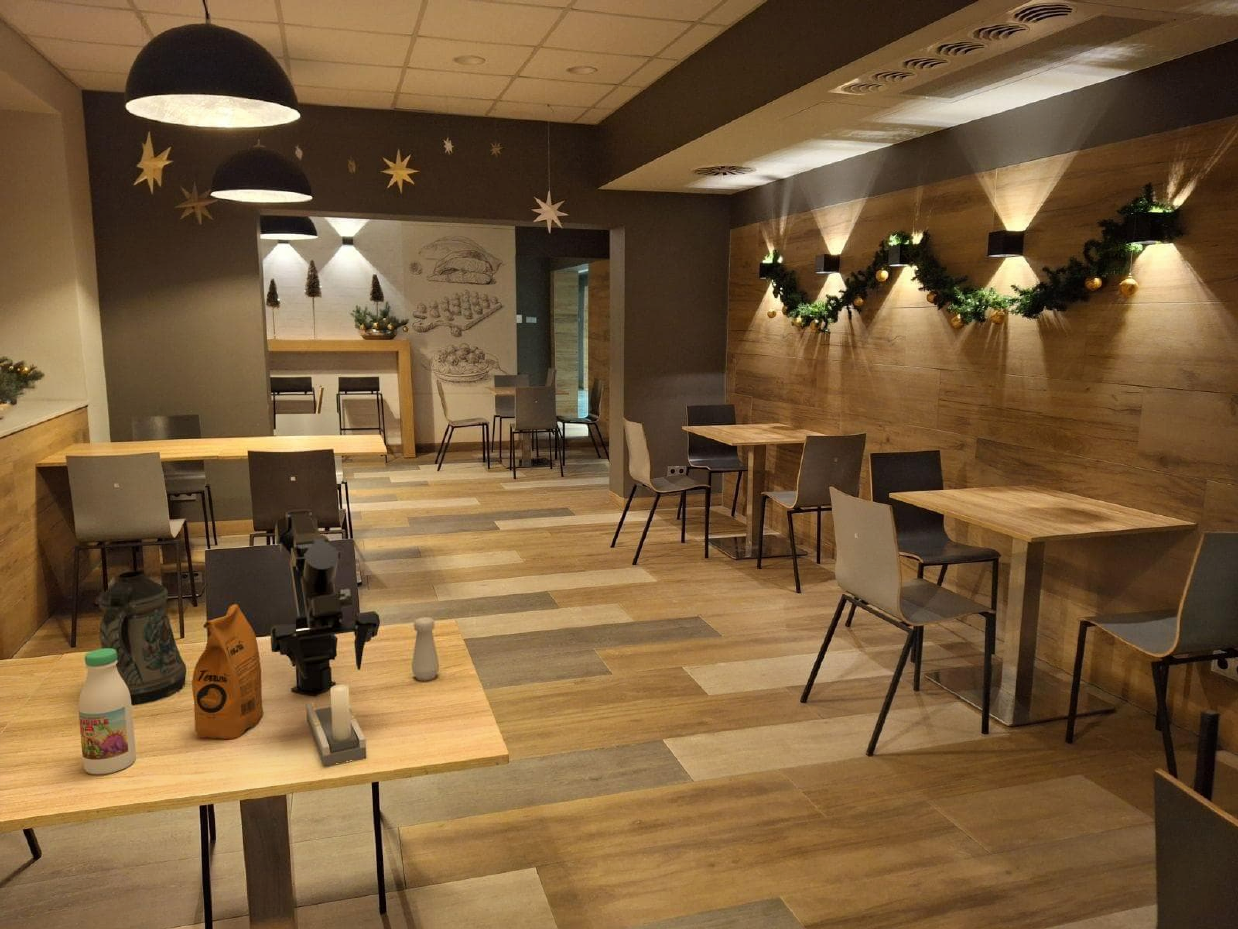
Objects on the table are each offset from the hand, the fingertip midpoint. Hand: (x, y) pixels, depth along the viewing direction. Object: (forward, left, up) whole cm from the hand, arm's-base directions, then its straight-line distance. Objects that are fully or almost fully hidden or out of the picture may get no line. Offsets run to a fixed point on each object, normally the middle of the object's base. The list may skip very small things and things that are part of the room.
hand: (332, 673), depth 153 cm
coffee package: (-22, -3, -13) cm, 26 cm away
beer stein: (-51, +2, -13) cm, 53 cm away
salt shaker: (-2, +31, -13) cm, 34 cm away
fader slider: (+5, -4, -11) cm, 13 cm away
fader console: (-1, 0, -13) cm, 13 cm away
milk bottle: (-29, -22, -13) cm, 39 cm away
